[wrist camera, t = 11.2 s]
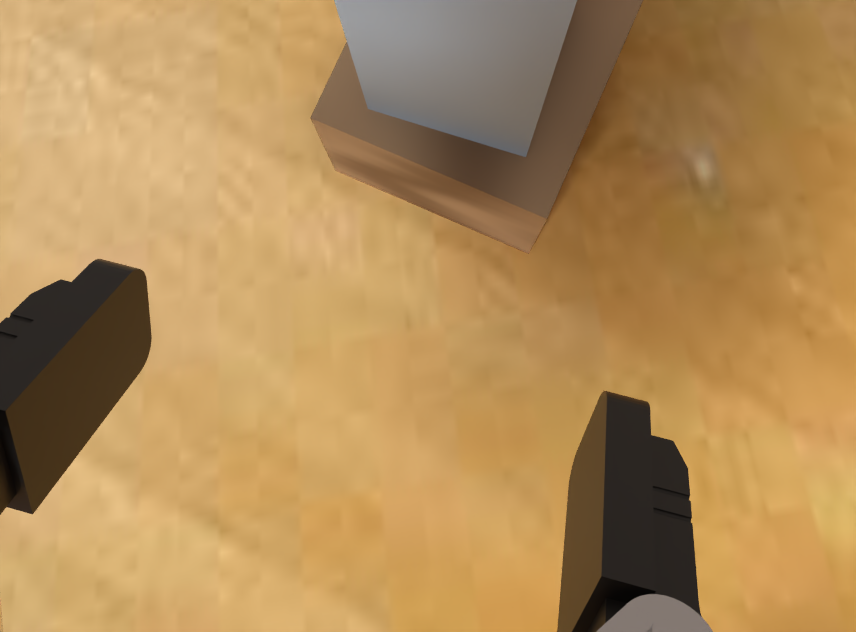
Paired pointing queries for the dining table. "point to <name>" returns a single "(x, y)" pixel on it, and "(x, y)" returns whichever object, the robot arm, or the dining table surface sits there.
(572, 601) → the robot arm
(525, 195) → the walnut block
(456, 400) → the dining table surface
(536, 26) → the pillar
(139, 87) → the dining table surface
